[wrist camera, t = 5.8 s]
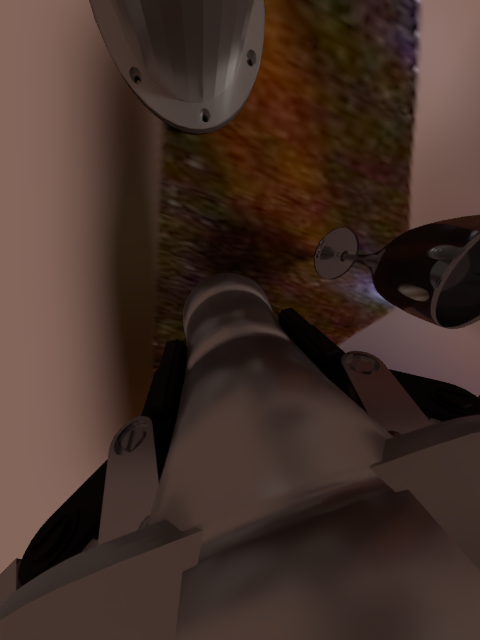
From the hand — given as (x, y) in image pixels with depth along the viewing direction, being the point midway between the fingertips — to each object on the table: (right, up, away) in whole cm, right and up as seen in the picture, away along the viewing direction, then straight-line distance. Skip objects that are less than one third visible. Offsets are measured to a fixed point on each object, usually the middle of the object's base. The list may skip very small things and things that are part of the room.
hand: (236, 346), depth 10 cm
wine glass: (+14, +11, +15) cm, 24 cm away
